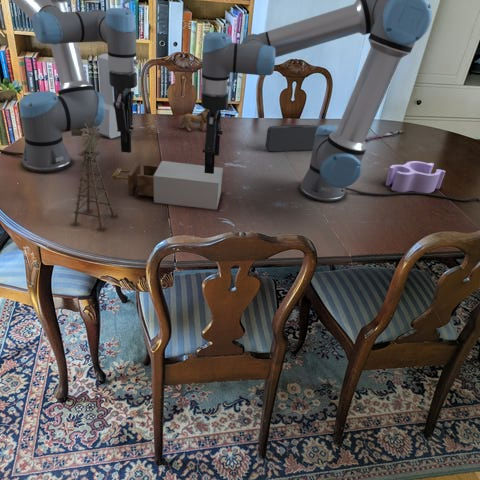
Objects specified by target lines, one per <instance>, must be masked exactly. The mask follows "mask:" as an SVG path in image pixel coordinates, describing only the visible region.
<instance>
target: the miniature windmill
mask: <svg viewBox="0 0 480 480" xmlns="http://www.w3.org/2000/svg"><path fill="white" fill-rule="evenodd" d="M89 118H90V117H89ZM92 120H93V116H92ZM94 121H95V118H94ZM96 122H97V120H96ZM87 123H88V119H87ZM93 125H94V122H93ZM95 125H96V123H95ZM95 125H94V127H92V126H91V122H90V127H89V129H88V127H87V125H86V123H85V126H86V128H87V129H85V128H83V129H77V128H73V127H71V131H70V132H71V136H72V137H81V136H82V137H83V138H82V140H81V141H82V146H83V147H84V150H83V151H81V152H80V153H78V154H77V155H78V156H80V157H83V161H82V162H81V164H82V168H81V171H80V173H81V175H80V178H79V187H78V193H77V195H76V196H77V201H76V202H75V205H76V207H75V208H76V209H75V210H74V212H73V213H74V221H73V224H74V225H77V224H78V217H79V215H83V216H89V217H94V218H98V224H99V229H100V230H103V229H104V228H103V222H102V221H103V220H102V217H103V216H104V215H105V214H106V213H107V212H108V211H110V214H111V216H112V217H115V212H114V210H113V203H111V201H110V197H109V193H108V192H107V191H108V188H106V185H105V182H104V179H103V174H102V173H101V169H100V166H99V164H98V163H99V160H97V157H98V156H100V155H101V154H102V153H103V152H102V151H100V150H95V149H97V147H96V146H98V142H97V141H99V140H100V138H99V137H98V136H100V133H98V130H99V128H98V129H97V126H98V125H99V123H98V124H97V126H96V127H95ZM88 126H89V123H88ZM94 167H96V170H97V173H95V172H94ZM85 170H87V172H86V174H85ZM90 171H91V172H90ZM90 175H91V179H92V180H90ZM95 176H98V177H97V178H95ZM99 180H100V182H101V186H102V187H100V186H97V184H96V183H97V182H98V181H99ZM90 183H92V185H90ZM85 185H86V187H85V188H84V189H83V187H84V186H85ZM91 188H93V192H94V196H91V194H90V192H91V191H90V189H91ZM97 189H98V190H103V191H102V192H101V193H100V194H99V195H98V191H97ZM85 191H86V193H85ZM83 193H85V194H83ZM103 195H105V198H106V201H107V202H102V201H99V198H100V197H102V196H103ZM85 198H86V200H85V201H84V202H83V203H82V204H81V201H83V200H84V199H85ZM91 199H94V200H91ZM90 203H94V204H96V205H95V206H96V211H97V214H92V213H91V214H90V213H85V212H82V211H81V212H80V209H81V208H83V207H84V205H86V207H87V208H86V210H87V212H90V209H91V208H90V206H91V205H90ZM80 204H81V205H80ZM100 205H105V206H108V207H107V208H106V209H105V210H104V211H103V212H102V213H101V210H100Z"/></svg>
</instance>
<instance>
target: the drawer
mask: <svg viewBox="0 0 480 480" xmlns="http://www.w3.org/2000/svg"><path fill="white" fill-rule="evenodd" d="M158 167H159V165H154V164H146V163H144V164H143V174H141V161H136V162H135V163H134V164H133V166H132V168H131V169H129V170H128V169H122V168H121V167H117V168H116V170H115V171H114V172H113V174H112V175H111V180H114V181H116V180H117V179H118V180H127V184H128V185H127V187H128V196H129V197H133V196H134V195H135V193H136V191H137V195H138V196H145V197H146V196H147V197H154V174H155V172H156V170H157V169H158ZM121 173H127V176H122V175H120V174H121Z"/></svg>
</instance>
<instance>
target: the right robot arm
mask: <svg viewBox="0 0 480 480" xmlns="http://www.w3.org/2000/svg"><path fill="white" fill-rule="evenodd" d="M432 18H433V11H432V7H431V4H430V2H429V0H355V2H354V3H353V4H350V5H347V6H344V7H341V8H338V9H335V10H331V11H328V12H325V13H321V14H318V15H314V16H312V17H309V18H305V19H302V20H299V21H296V22H292V23H289V24H285V25H283V26H280V27H277V28H273V29H270V30H267V31H264V32H260V33H251V34H248V35H246V36H244V38H243V39H242V41H241V43H238V42H233V40H232V35H231V34H229V33H226V32H219V31H212V32H207V33H206V34H205V35H203V38H202V39H203V40H202V51H201V53H202V54H201V55H202V57H201V87H200V89H201V92H202V93H201V94H200V95H201V97H200V99H201V100H200V106H201V107H202V108H203V109H208V110H209V112H208V114H207V116H206V120H207V123H205V124H206V125H205V141H204V149H202V153H203V154H204V166H205V172H204V173H209V174H214V167H215V161H216V157H219V156H220V146H221V145H220V143H221V135H223V130H222V125H221V124H222V112H221V111H225V110H227V108H228V106H229V95H228V93H229V88H230V87H231V86H232V83H231V81H230V73H233V74H242V75H243V74H244V75H253V76H254V75H255V76H259V77H262V76H271V75H273V73H274V71H275V64H276V58H279V57H283V56H285V55H289V54H292V53H295V52H296V53H297V52H299V51H302V50H306V49H309V48H312V47H315V46H319V45H322V44H325V43H329V42H333V41H335V40H339V39H342V38H346V37H349V36H353V35H355V34H361V35H363V36H365V35H369V36H368V38H367V40H368V43H369V45H370V48H369V50H368V53H367V55H366V58H365V61H364V63H363V65H362V68H361V70H360V72H359V75H358V78H357V80H356V82H355V84H354V87H353V90H352V92H351V94H350V97H349V100H348V102H347V105H346V107H345V109H344V112H343V114H342V117H341V119H340V121H339V124H338V125H334V124H321V125H318V126H319V127H318V128H317V130H316V134H315V140H314V145H313V150H311V156H310V162H309V167H308V170H307V172H306V173H305V175H304V177H303V179H302V180H301V182H300V186H299V190H300V192H301V194H302V195H304V196H306V197H307V198H309V199H312V200H314V201H318V202H324V203H333V202H338V201H341V200H342V199H344V197H345V195H346V191H349V192H353V193H356V194H361V195H368V196H378V197H379V196H395V195H421V196H430V197H436V198H443V199H448V200H453V201H457V202H469V201H473V200H477V202H480V198H479V197H477V196H476V197H475V196H473V197H469V198H457V197H452V196H447V195H442V194H435V193H421V192H415V191H407V192H397V191H394V192H388V193H385V192H384V193H379V192H378V193H377V192H367V191H360V190H357V189H355V188H350V186H352V185H354V184H355V183H356V182H357V181H358V180H359V178H360V177H361V174H362V160H363V158H364V156H365V154H366V151H367V149H368V146H367V144H366V141H365V139H367V136H368V134H369V132H370V130H371V127H372V125H373V122H374V121H375V118H376V117H377V115H378V112H379V110H380V108H381V105H382V103H383V101H384V98H385V96H386V94H387V92H388V90H389V88H390V86H391V83H392V80H393V78H394V76H395V74H396V72H397V70H398V67H399V65H400V63H401V61H402V59H403V58H405V57H406V56H409V55H410V54H411V52H412V51H413V48H414V47H415V44H416V42H417V41H419V40H421V38H423V37H424V36H425V34H427V32H428V30H429V28H430V27H431V23H432ZM478 198H479V199H478Z"/></svg>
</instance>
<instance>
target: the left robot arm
mask: <svg viewBox="0 0 480 480" xmlns="http://www.w3.org/2000/svg"><path fill="white" fill-rule="evenodd" d="M11 1H12V3H14V4H15V5H16V6H17V7H18V8H19V10H21V11H22V12H23V14H25V16H27V17H28V19H30V20H31V24H32V25H31V27H32V30H33V34H34V36H35V38H36V40H37V41H38V42H39V43H40V44H43V45H50V49H51V51H52V53H51V54H52V57H53V61H54V64H55V68H56V71H57V75H58V79H59V83H60V86H59V88H58V90H57V93H58V94H57V93H56V92H54V91H49V90H46V91H43V90H41V91H35V92H34V91H33V92H31V93H28V94H26V95H24V96H23V97H21V99H20V100H19V103H18V104H19V116H20V119H21V125H22V132H23V136H24V148H23V152H15V151H14V152H13V151H7V150H3V149H0V153H3V154H7V155H13V156H22V158H21V161H22V166H23V168H24V169H25V170H27V171H29V172H33V173H39V174H46V173H56V172H61V171H63V170H66V169H67V168H69V167H70V166H71V163H72V159H71V155H70V153H69V151H68V150H67V149H68V148H67V147H66V145H65V143H64V140H63V133H66V132H71V127H73V128H77V129H80V130H83V128H85V129H86V130H88V129H89V127H90V122H91V126H92V127H93V128H95V127H96V126H97V124H98V123H99V125H100V124H101V123H102V122H103V119H104V115H105V106H104V100H103V98H102V96H101V94H100V91H97V90H95V88H94V85H93V84H91V83H90V82H89V81H88V80H87V75H86V71H85V67H84V62H83V59H82V55H81V51H80V47H79V43H100V42H101V43H104V44H106V45H107V54H108V68H109V70H110V72H109V81H110V85H111V86H112V87H115V88H116V89H117V90H116V93H115V99H116V102H114V103H113V105H114V109H115V114H116V122H117V129H118V130H117V131H118V132H120V136H119V137H120V152H121V153H129V154H130V153H132V131H134V127H133V124H134V122H133V121H134V99H135V91H134V90H132V89H135V88H137V86H138V73H137V65H138V64H139V60H138V59H137V25H136V14H135V13H134V11H133V10H131V9H127V8H123V7H121V8H120V7H112V8H111V7H110V8H107V9H106V11H105V10H102V9H90V10H88V11H70V8H69V5H70V3H71V2H72V0H11ZM92 116H93V120H92ZM89 117H90V118H89ZM94 118H95V121H94ZM87 119H88V123H89V126H88V123H87ZM96 120H97V122H96ZM93 122H94V125H95V123H96V125H95V127H94V125H93ZM85 123H86V125H87V127H88V129H87V128H86V126H85ZM99 125H98V126H99Z"/></svg>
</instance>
